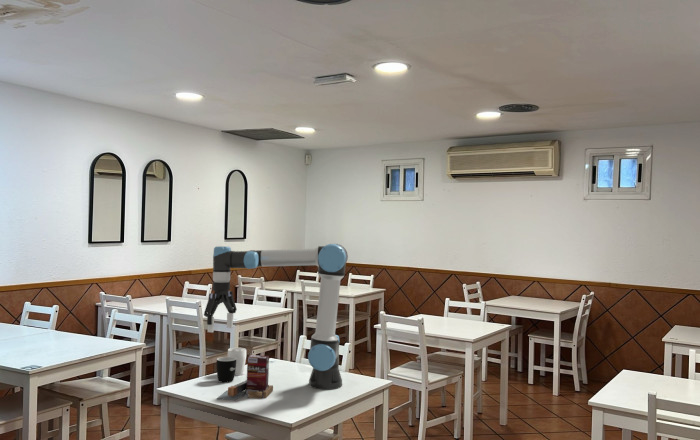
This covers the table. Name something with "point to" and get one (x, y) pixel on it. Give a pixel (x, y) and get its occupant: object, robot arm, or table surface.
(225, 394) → the slate mat
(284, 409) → the table surface
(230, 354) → the cup
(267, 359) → the supplement box
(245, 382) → the lever
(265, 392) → the cradle
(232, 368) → the mug
